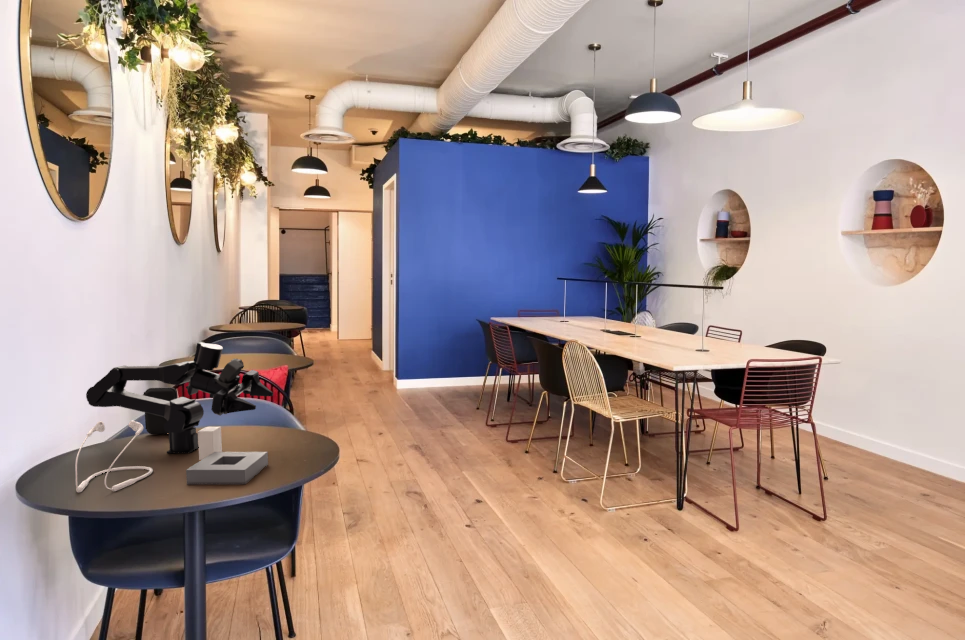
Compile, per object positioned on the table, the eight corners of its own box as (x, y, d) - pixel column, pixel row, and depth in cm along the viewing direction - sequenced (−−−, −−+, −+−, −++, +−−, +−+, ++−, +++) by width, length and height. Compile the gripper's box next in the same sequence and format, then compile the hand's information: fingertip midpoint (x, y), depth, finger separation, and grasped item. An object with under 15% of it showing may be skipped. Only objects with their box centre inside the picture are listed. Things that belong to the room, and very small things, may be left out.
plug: (199, 460, 169) (197, 431, 169) (210, 453, 176) (208, 425, 175) (214, 460, 169) (212, 431, 169) (224, 453, 176) (223, 425, 175)
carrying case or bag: (140, 436, 195) (138, 389, 194) (145, 433, 198) (142, 387, 197) (177, 435, 196) (174, 388, 195) (180, 432, 199) (178, 386, 198)
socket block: (186, 484, 150) (186, 469, 150) (214, 465, 165) (214, 451, 165) (245, 484, 150) (244, 469, 150) (268, 465, 165) (267, 451, 165)
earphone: (54, 482, 141) (86, 416, 154) (85, 519, 153) (112, 455, 166) (118, 480, 142) (144, 415, 155) (143, 517, 154) (165, 453, 166)
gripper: (195, 369, 165) (250, 387, 163) (235, 346, 183) (285, 363, 181) (190, 406, 169) (244, 425, 167) (230, 381, 186) (279, 397, 185)
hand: (264, 400), depth 175 cm, fingers open, 9 cm apart
